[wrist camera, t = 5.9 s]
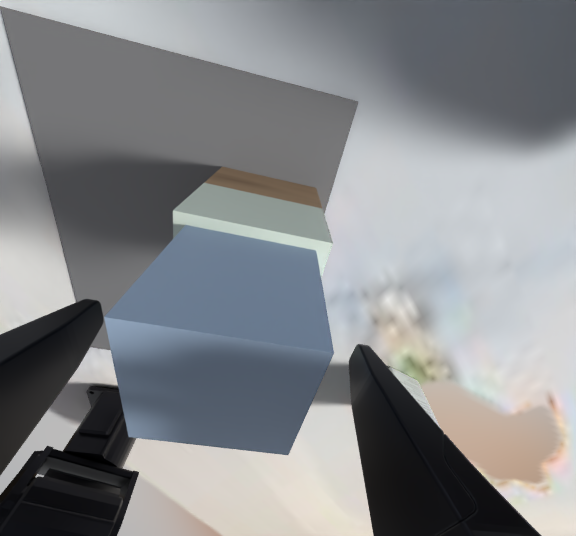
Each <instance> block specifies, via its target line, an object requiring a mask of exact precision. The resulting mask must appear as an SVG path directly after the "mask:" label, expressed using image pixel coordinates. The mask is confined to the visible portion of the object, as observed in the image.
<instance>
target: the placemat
mask: <svg viewBox="0 0 576 536" xmlns="http://www.w3.org/2000/svg"><path fill="white" fill-rule="evenodd" d="M0 8H1V12H2V15H3V19H4V23H5V27H6V31H7V35H8V39H9V42H10V46H11V50H12V54H13V58H14V62H15V66H16V69H17V73H18V77H19V81H20V85H21V89H22V93H23V96H24V100H25V104H26V108H27V112H28V116H29V120H30V123H31V127H32V131H33V135H34V139H35V143H36V146H37V150H38V154H39V158H40V162H41V166H42V170H43V173H44V177H45V181H46V185H47V189H48V193H49V197H50V200H51V204H52V208H53V212H54V216H55V220H56V224H57V227H58V231H59V235H60V239H61V243H62V247H63V251H64V254H65V258H66V262H67V266H68V270H69V274H70V278H71V281H72V285H73V289H74V293H75V297H76V301H77V302H79V301H81V300H84V299H91V300H97V301H99V302H100V303H101V307H102V312H103V317H105V315H106V314H107V313H108V312H109V311H110V310H111V309H112V308H113V306H114V305H115V304H116V303H117V302H118V301H119V300H120V299H121V297H122V296H123V295H124V294H125V293H126V292H127V291H128V289H129V288H130V287H131V286H132V285H133V284H134V283H135V282H136V280H137V279H138V278H139V277H140V276H141V275H142V274H143V273H144V271H145V270H146V269H147V268H148V267H149V266H150V265H151V263H152V262H153V261H154V260H155V259H156V258H157V257H158V256H159V254H160V253H161V252H162V251H163V250H164V249H165V248H166V246H167V245H168V244H169V243H170V242H171V241H172V240H173V210H174V209H175V208H176V207H177V206H178V205H180V204H181V203H182V202H183V201H184V200H185V199H186V198H187V197H189V196H190V195H191V194H192V193H193V192H194V191H195V190H197V189H198V188H199V187H200V186H201V185H202V184H203V183H204V182H206V181H207V180H208V179H209V178H210V177H211V176H212V175H213V174H215V173H216V172H217V171H218V170H219V169H220V168H221V167H227V168H231V169H235V170H240V171H244V172H249V173H253V174H257V175H262V176H266V177H271V178H275V179H279V180H284V181H288V182H293V183H297V184H302V185H306V186H310V187H315V188H316V189H317V192H318V196H319V199H320V202H321V205H322V209H323V212H324V213H325V210H326V206H327V203H328V200H329V197H330V193H331V190H332V187H333V183H334V180H335V177H336V174H337V170H338V167H339V164H340V160H341V157H342V154H343V151H344V147H345V144H346V141H347V137H348V134H349V131H350V128H351V124H352V121H353V118H354V114H355V111H356V108H357V105H358V102H357V101H354V100H350V99H346V98H342V97H339V96H335V95H331V94H327V93H324V92H320V91H316V90H312V89H309V88H305V87H301V86H297V85H294V84H290V83H286V82H282V81H279V80H275V79H271V78H267V77H264V76H260V75H256V74H252V73H249V72H245V71H241V70H237V69H234V68H230V67H226V66H222V65H219V64H215V63H211V62H207V61H204V60H200V59H196V58H192V57H189V56H185V55H181V54H177V53H174V52H170V51H166V50H162V49H159V48H155V47H151V46H147V45H144V44H140V43H136V42H132V41H128V40H125V39H121V38H117V37H113V36H110V35H106V34H102V33H98V32H95V31H91V30H87V29H83V28H80V27H76V26H72V25H68V24H65V23H61V22H57V21H53V20H50V19H46V18H42V17H38V16H35V15H31V14H27V13H23V12H20V11H16V10H12V9H8V8H5V7H1V6H0ZM90 347H93V348H100V349H107V350H111V348H110V343H109V339H108V334H107V329H106V324H105V319H104V322H103V325H102V327H101V329H100V330H99V332H98V334H97V336H96V337H95V339H94V341H93V343H92V344H91V346H90Z"/></svg>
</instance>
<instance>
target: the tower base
mask: <svg viewBox="0 0 576 536" xmlns="http://www.w3.org/2000/svg"><path fill="white" fill-rule="evenodd" d="M204 183H208V184H212V185H217V186H222V187H226V188H231V189H235V190H240V191H244V192H249V193H254V194H258V195H263V196H267V197H272V198H276V199H281V200H285V201H290V202H295V203H299V204H304V205H308V206H313V207H317V208H322V205H321V202H320V199H319V196H318V192H317V189H316V188H315V187H310V186H306V185H302V184H297V183H293V182H288V181H284V180H279V179H275V178H271V177H266V176H262V175H257V174H253V173H249V172H244V171H240V170H235V169H231V168H227V167H221V168H220V169H219V170H218V171H217V172H216V173H215V174H213V175H212V176H211V177H210V178H209V179H208V180H207V181H206V182H204Z"/></svg>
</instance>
